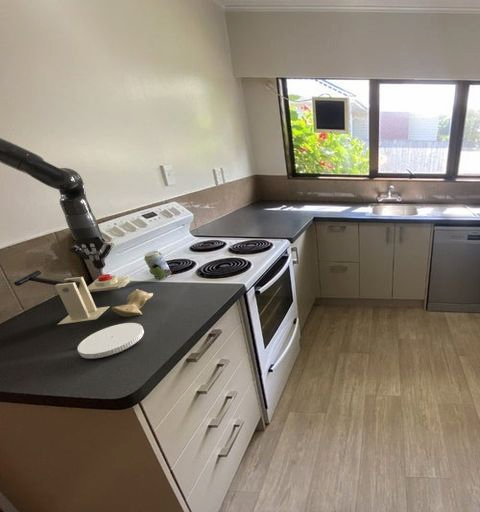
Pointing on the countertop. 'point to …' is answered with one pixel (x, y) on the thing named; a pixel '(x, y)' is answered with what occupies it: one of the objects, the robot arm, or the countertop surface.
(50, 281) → the lever
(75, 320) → the bracket
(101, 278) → the stop button
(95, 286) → the block
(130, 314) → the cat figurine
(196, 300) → the countertop surface
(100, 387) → the countertop surface
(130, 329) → the plastic lid
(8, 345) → the countertop surface
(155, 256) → the beverage can
